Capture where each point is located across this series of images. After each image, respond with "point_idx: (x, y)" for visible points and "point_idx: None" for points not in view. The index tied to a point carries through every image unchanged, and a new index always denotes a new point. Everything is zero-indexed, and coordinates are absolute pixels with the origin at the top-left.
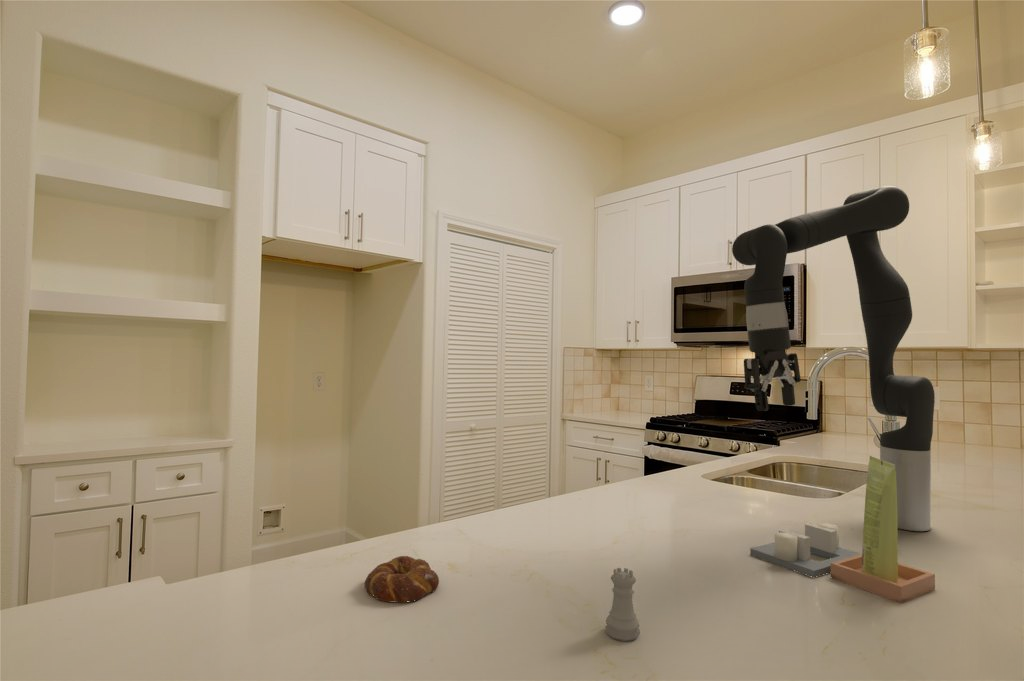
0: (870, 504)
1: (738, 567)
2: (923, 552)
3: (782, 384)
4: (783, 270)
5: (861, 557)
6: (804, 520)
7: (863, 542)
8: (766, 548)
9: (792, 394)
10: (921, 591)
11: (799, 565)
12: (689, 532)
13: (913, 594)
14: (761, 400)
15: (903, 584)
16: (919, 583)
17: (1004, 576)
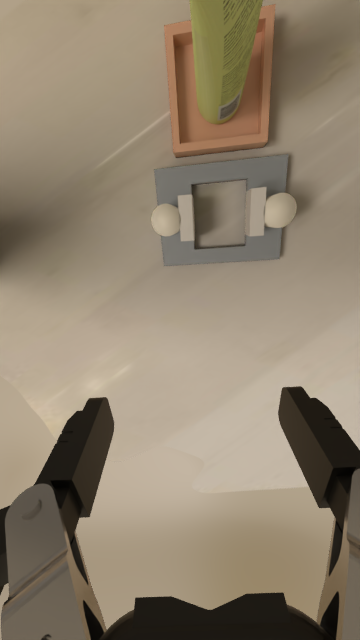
0: (253, 17)
1: (336, 231)
2: (39, 162)
3: (75, 535)
4: None
5: (195, 142)
6: (84, 320)
7: (236, 92)
8: (259, 249)
9: (86, 436)
10: None
11: (285, 179)
12: (268, 347)
13: None
14: (343, 429)
15: (260, 11)
16: None
17: (12, 32)
